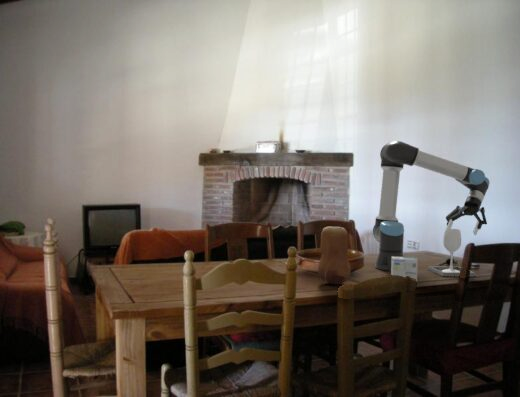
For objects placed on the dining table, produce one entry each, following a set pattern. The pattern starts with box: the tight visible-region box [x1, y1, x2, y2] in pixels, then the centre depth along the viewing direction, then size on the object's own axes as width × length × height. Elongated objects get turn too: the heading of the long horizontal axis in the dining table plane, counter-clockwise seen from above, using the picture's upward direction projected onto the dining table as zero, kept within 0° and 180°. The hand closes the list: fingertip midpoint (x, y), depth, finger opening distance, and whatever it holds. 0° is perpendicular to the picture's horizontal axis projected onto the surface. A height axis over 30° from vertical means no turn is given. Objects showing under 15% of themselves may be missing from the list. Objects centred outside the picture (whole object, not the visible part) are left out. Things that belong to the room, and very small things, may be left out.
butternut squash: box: [317, 226, 351, 286], centre depth 209 cm, size 14×13×25 cm
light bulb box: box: [390, 256, 419, 282], centre depth 218 cm, size 11×7×11 cm, turn 84°
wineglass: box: [442, 228, 462, 272], centre depth 238 cm, size 9×9×21 cm
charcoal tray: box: [427, 265, 476, 278], centre depth 239 cm, size 16×16×2 cm
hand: (460, 232), depth 244 cm, fingers open, 13 cm apart
